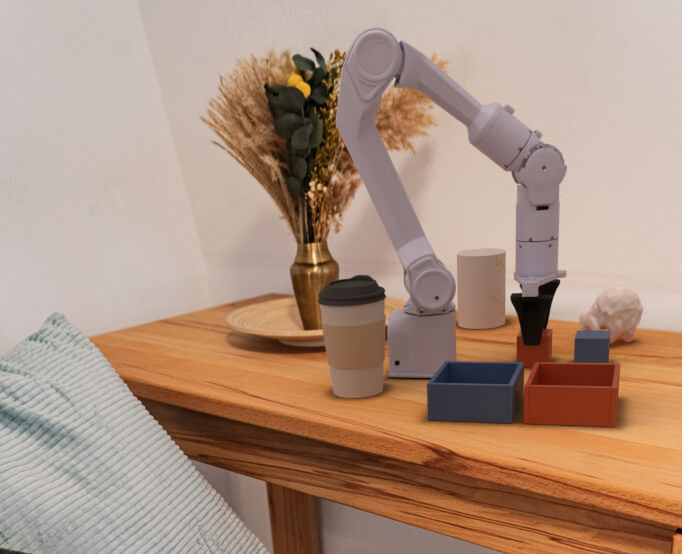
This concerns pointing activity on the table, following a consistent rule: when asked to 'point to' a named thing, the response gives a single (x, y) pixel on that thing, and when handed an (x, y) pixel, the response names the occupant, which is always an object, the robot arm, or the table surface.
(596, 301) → the white animal figurine
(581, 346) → the blue block
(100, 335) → the table surface
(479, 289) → the cup
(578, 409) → the terracotta bin
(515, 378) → the blue bin
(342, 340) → the coffee cup
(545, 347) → the terracotta block
